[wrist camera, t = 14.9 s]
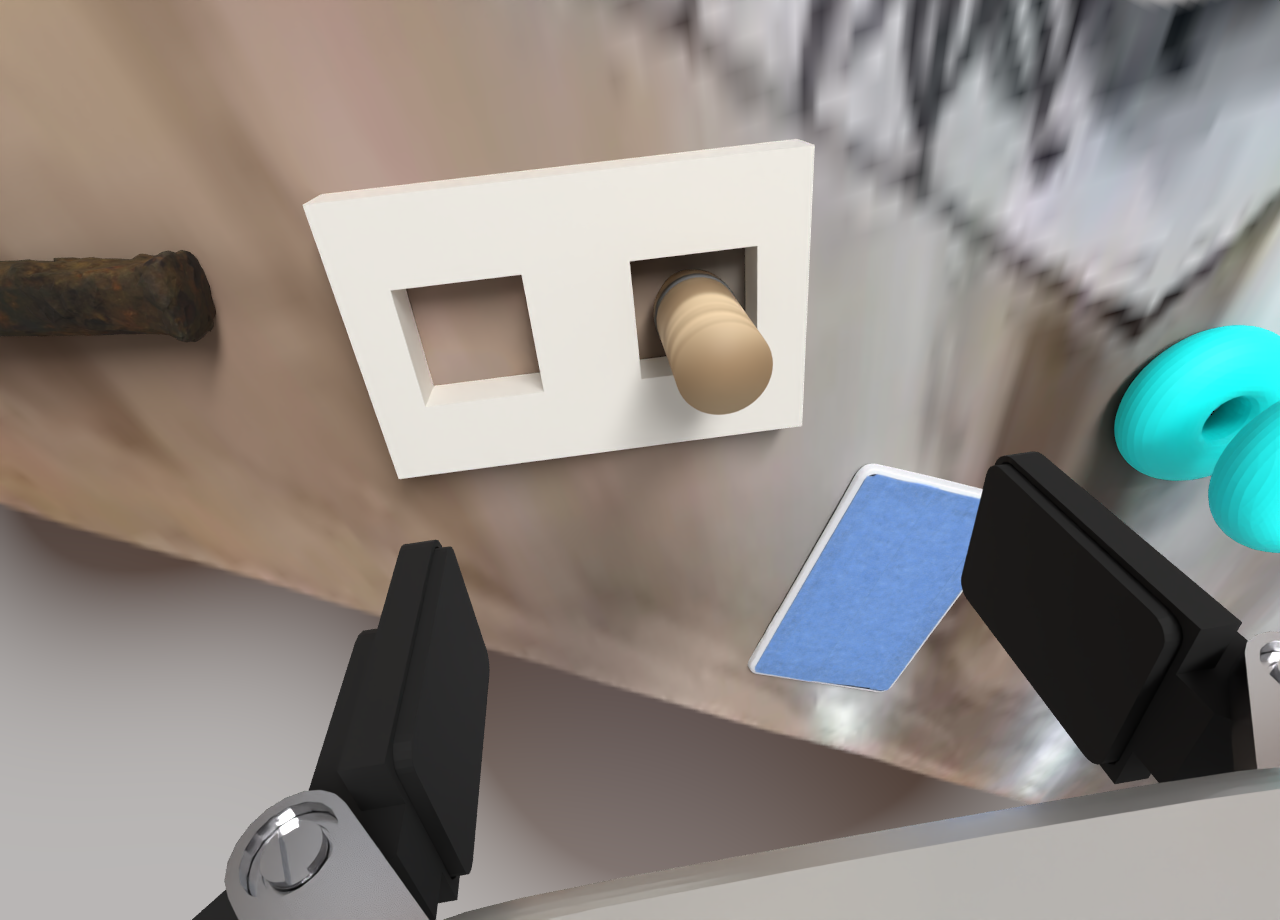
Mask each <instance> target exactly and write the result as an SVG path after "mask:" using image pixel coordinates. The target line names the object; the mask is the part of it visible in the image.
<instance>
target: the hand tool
mask: <svg viewBox="0 0 1280 920" xmlns="http://www.w3.org/2000/svg"><path fill="white" fill-rule="evenodd" d="M215 313H216V311H215V306H214V304H213V302H212V298H211V291H210V286H209V284H208V281H207V278H206V276H205V274H204V271H203V269H202V268H201V266H200V264H199V262H198V260H197V259H196V258H195V256H194V255H193V254H191V253H190V252H188V251H183V250H180V251H178V252H176V253H174V252H171V251H165V252H161V253H160V254H158V255H156V256H151V255H147V254H139V255H138V256H136V257H134V258H133V259H131V260H129V259H101V258H95V257H89V258H82V259H80V258H54V261H34V260H20V261H0V336H71V335H88V336H91V335H114V334H165V335H171V336H173V337H174V338H177V339H178V340H180V341H184V342H196V341H198V340H199V339H201V338H202V337H204V335H205V334H206V333H207V332H208V331H210V332H211V330H212V328H213V326H214V323H213V318H214V315H215Z"/></svg>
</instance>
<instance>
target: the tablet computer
mask: <svg viewBox="0 0 1280 920" xmlns="http://www.w3.org/2000/svg"><path fill="white" fill-rule="evenodd" d="M982 490H983V489H980V488H976V487H971V486H967V485H964V484H960V483H956V482H952V481H948V480H944V479H939V478H935V477H931V476H927V475H923V474H918V473H914V472H910V471H906V470H902V469H897V468H893V467H889V466H884V465H880V464H867V465H865V466H863V467H862V468H861V469H860V470H859V471H858V472H857V473H856V475H855V476H854V478H853V480H852V482H851V484H850V486H849V487H848V489H847V491H846V493H845V495H844V496H843V498H842V500H841V502H840V503H839V505H838V507H837V509H836V511H835V512H834V514H833V516H832V518H831V519H830V521H829V523H828V525H827V526H826V528H825V530H824V532H823V533H822V535H821V537H820V539H819V540H818V542H817V544H816V546H815V547H814V549H813V551H812V553H811V554H810V556H809V558H808V560H807V561H806V563H805V565H804V567H803V568H802V570H801V572H800V573H799V575H798V577H797V579H796V580H795V582H794V584H793V586H792V587H791V589H790V591H789V593H788V594H787V596H786V598H785V599H784V601H783V603H782V605H781V606H780V608H779V610H778V611H777V613H776V614H775V616H774V618H773V620H772V622H771V623H770V625H769V626H768V628H767V630H766V632H765V634H764V635H763V637H762V638H761V640H760V642H759V643H758V645H757V647H756V649H755V651H754V652H753V654H752V656H751V657H750V659H749V661H748V667H749V668H750V670H751V671H752V672H753V673H755V674H761V675H768V676H775V677H781V678H788V679H794V680H800V681H807V682H814V683H820V684H827V685H833V686H840V687H846V688H853V689H860V690H866V691H873V692H884V691H886V690H888V689H890V688H891V687H892V686H893V684H894V683H895V682H896V680H897V679H898V678H899V676H900V675H901V674H902V672H903V671H904V670H905V668H906V667H907V666H908V664H909V663H910V662H911V660H912V659H913V658H914V656H915V655H916V653H917V652H918V651H919V649H920V648H921V647H922V645H923V644H924V643H925V641H926V640H927V638H928V637H929V636H930V634H931V633H932V632H933V630H934V629H935V628H936V626H937V625H938V624H939V622H940V621H941V620H942V618H943V617H944V616H945V614H946V613H947V612H948V610H949V609H950V608H951V606H952V605H953V604H954V602H955V601H956V600H957V598H958V597H959V596H960V594H961V593H962V592H963V590H962V586H961V575H962V571H963V567H964V563H965V559H966V555H967V551H968V547H969V543H970V539H971V535H972V531H973V527H974V523H975V519H976V515H977V511H978V507H979V502H980V498H981V494H982Z"/></svg>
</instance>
